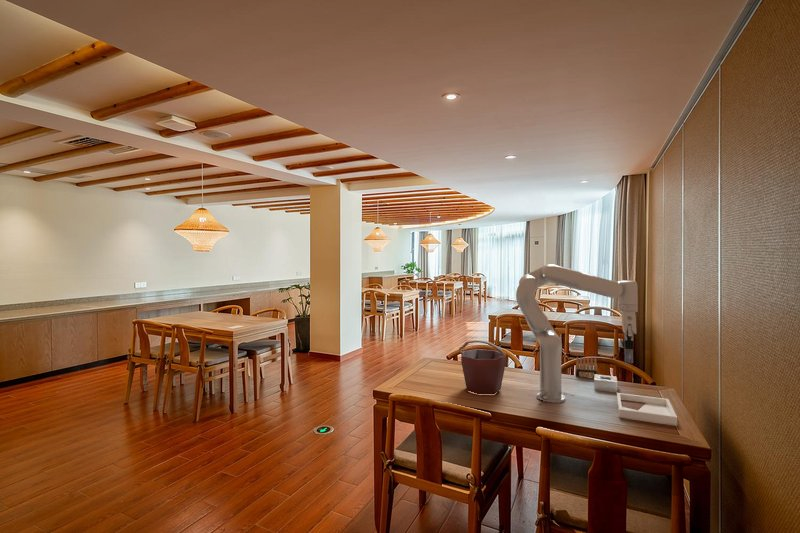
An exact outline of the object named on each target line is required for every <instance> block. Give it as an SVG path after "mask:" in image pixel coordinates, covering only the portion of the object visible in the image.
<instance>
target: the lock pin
mask: <svg viewBox="0 0 800 533" xmlns="http://www.w3.org/2000/svg"><path fill="white" fill-rule="evenodd" d="M623 336H624V335H623ZM625 340H626V337H625V336H624V338H623V342H624V341H625ZM624 363H625V364H633V363H634V348H633V349H625V348H624Z"/></svg>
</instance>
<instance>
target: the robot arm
mask: <svg viewBox="0 0 800 533" xmlns="http://www.w3.org/2000/svg"><path fill="white" fill-rule="evenodd" d="M548 283H551V284H555V285H558V286H559V285H560V286H563V287H567V288H570V289H574V290H578V291H581V292H582V291H584V292H588V293H592V294H596V295H599V296H603V297H606V298H611V299H617V298H618V312H621V327H622V333H623V334H624V335H623V336H625V337H626V340H625V341H624V340H623V346H624V347H623V348H624V350H625V349H633V350H634V340H633V339H634V336H633V335H637V316H636V313H638V312H639V308H638V307H639V306H638V305H639V304H638V303H639V302H638V299H639V298H638V295H639V294H638V282H637V281H635V280H611V279H607V278H603V277H600V276H595V275H592V274H588V273H586V272H585V271H580V270H575V269H572V268H568V267H564V266H561V265H557V264H552V263H551V264H550V263H548V264H545V265H543V266H541V267H538V268H537V269H535V270H532V271H530V272H528V273H526V274H524V275H522V276H521V277H520V279H519V281H518V286H517V289H516V291H515V300H516V302H517V305H518V307H519V310H520V311H521V313H522V315H523V316H524V318H525V321H526V324H527V325H528V327H529V329H530V331H531V332H532V334H533V335H534V338H535V339H536V341H537V343H538V344H539V392H537V394H536V398H537V399H538V400H539V399H540V400H539V401H541V400H543V401H542V402H545V401H546V402H545V403H550V402H552V403H553V404H558V403H559V404H561V403H563V402H565V401H566V396H565V395H563V394H562V351H563V344H562V340H561V337H560V336H559V335H558V334H557V333H556V331H555V329H554V327H553V326H552V325H551V323H550V321H549V319H548V317H547V315H546V314H545V312H544V311H543V310H542V308H541V307H540V305H539V302H538V301H537V299H536V296H535V294H536V292H537V290H538V289H539V288H540V287H542V286H545V285H546V284H548Z"/></svg>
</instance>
